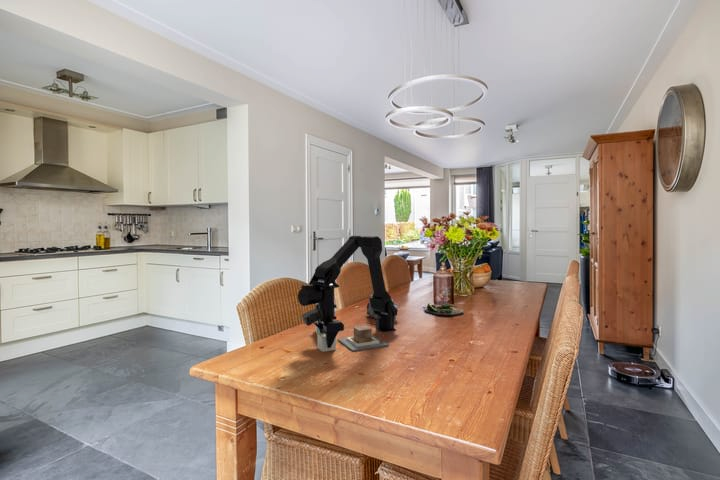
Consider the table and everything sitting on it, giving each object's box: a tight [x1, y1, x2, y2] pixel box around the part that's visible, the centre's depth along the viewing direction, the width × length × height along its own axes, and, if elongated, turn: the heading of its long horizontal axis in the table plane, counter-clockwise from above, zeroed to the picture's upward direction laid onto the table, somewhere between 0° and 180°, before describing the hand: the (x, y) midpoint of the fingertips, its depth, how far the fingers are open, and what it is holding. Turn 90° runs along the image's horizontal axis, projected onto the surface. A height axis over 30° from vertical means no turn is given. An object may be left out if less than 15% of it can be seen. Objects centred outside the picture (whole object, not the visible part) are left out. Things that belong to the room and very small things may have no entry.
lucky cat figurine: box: [366, 293, 399, 320], centre depth 176 cm, size 15×12×14 cm
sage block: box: [316, 333, 337, 352], centre depth 132 cm, size 5×5×5 cm
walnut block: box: [353, 325, 373, 343], centre depth 138 cm, size 5×5×5 cm
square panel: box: [337, 334, 390, 353], centre depth 138 cm, size 14×14×1 cm
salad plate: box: [422, 302, 464, 318], centre depth 187 cm, size 19×18×5 cm
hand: (326, 345), depth 132 cm, fingers closed on sage block, 5 cm apart
